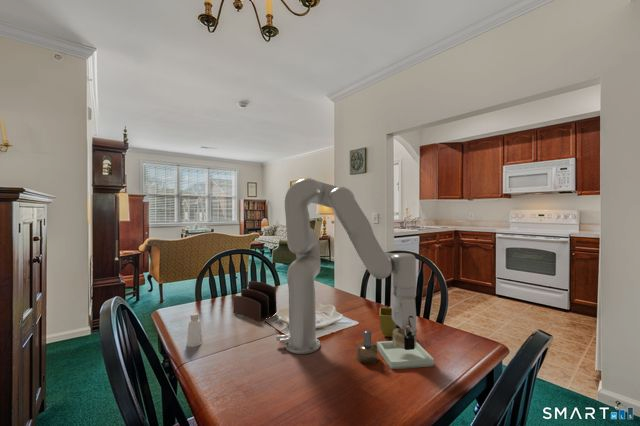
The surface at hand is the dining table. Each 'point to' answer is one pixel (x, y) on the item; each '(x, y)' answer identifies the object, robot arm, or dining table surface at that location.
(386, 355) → the tray
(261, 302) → the letter holder
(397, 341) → the birch ring
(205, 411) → the dining table surface
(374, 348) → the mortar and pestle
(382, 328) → the flower pot
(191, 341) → the salt shaker
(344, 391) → the dining table surface
